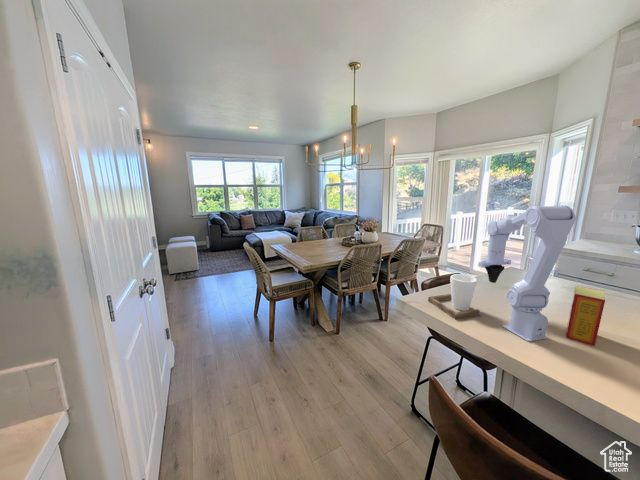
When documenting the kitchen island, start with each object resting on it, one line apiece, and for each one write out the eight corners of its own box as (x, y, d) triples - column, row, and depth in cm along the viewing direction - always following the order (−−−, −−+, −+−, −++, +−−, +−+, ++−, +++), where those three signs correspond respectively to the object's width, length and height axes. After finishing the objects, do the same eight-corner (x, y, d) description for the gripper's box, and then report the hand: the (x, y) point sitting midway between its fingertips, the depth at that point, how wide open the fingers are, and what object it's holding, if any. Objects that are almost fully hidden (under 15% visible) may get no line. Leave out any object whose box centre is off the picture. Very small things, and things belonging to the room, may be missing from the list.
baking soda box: (567, 326, 90) (575, 284, 87) (593, 333, 86) (603, 289, 82) (565, 337, 84) (575, 293, 80) (594, 346, 79) (605, 299, 76)
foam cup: (465, 301, 110) (468, 273, 108) (478, 312, 101) (482, 281, 99) (444, 302, 111) (446, 274, 108) (454, 312, 102) (457, 282, 99)
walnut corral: (479, 315, 99) (479, 310, 99) (455, 319, 97) (455, 314, 96) (449, 298, 114) (450, 294, 114) (428, 301, 112) (428, 296, 112)
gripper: (501, 247, 108) (497, 276, 111) (473, 249, 105) (470, 280, 108) (517, 250, 101) (513, 282, 104) (488, 253, 98) (484, 286, 101)
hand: (492, 281), depth 105 cm, fingers closed
